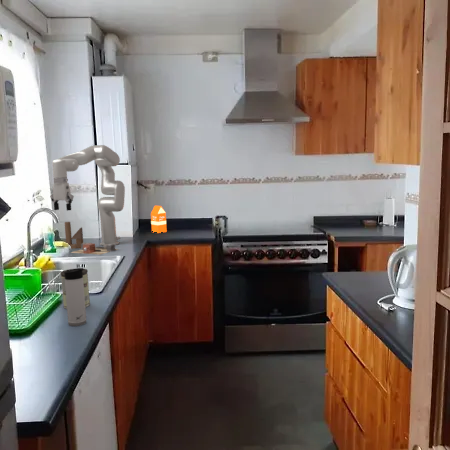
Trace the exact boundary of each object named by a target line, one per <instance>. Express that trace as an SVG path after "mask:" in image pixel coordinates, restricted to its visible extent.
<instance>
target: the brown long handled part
mask: <svg viewBox="0 0 450 450" xmlns="http://www.w3.org/2000/svg"><path fill="white" fill-rule="evenodd" d="M71 225H72V224H71V221H65V222H64V234H65V244H66V243H68V244H69V245H70V246H71V249H70V250H73V249H81V244H82V243H84V235H83V234H84V231H83V227H82V226H81V227H80V228H79V229H78V230H77V231H76V232H75V233H74V235H73V236H72V226H71ZM73 240H75V243H73Z"/></svg>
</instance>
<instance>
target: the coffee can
mask: <svg viewBox="0 0 450 450" xmlns="http://www.w3.org/2000/svg"><path fill="white" fill-rule="evenodd" d="M71 269H72V268H70V269H69V268H68V269H65V270H62V271H61V272H60V273H59V274H60V280H61V289H62V301H63V308H64V309H66V310H67V302H66V290H65V276H64V272H66V271H67V270H71ZM82 272H83V274H82V275H83V283H84V296H85V308H87V307H89V306H90V305H91V302H90V301H91V300H90V289H89V277H88V276H89V275H88V269H86V268H83V271H82Z"/></svg>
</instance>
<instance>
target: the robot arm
mask: <svg viewBox="0 0 450 450" xmlns="http://www.w3.org/2000/svg"><path fill="white" fill-rule="evenodd" d="M120 158H121V157H120V156H119V154H117V152H115V151H114V150H113V149H112V148H110V147H109V146H107V145H105V144H99V145H98V144H97V145H91V146H89V147H86V148H84V149H82V150H80V151H77V152H73V153H70V154H67V155H64V156H62V157H60V158H58V159H54V160H52V162H51V163H52V172H53V173H52V174H53V175H52V176H53V184H52V185H53V187H52V194H51V195H50V200H51V202H52V203H53V210H54V211H59V209H60V206H59V205H60V204H59V201H65V202H66V204H65V206H66V211H67V212H68V211H72V202H73V201H74V197H75V196H74V195H73V194H72V192H71V187H70V184H69V182H68V181H69V179H68V172H75V171H77V170H78V169H79V166H85V165H87V164H89V163H91V162H93V161H95V162H94V163H95V164H96V166H97V167H98V169H99V170H100V172H101V181H100V182H101V185H100V190H101V191H100V192H101V193H102V194H103V195H104V196H103V197H101V198H99V199H98V200H97V208H98V212H99V219H100V229H101V230H100V233H101V234H100V236H101V242H99V246H100V247H103V246H104V244H115V246H117V245H119V244H120V242H119V241H118V240H121V237H120V236H117V230H116V229H117V227H116V225H117V224H116V216H115V214H114V213H115V212H116V213H117V212H121V211H123V209H124V207H125V195H126V193H125V192H126V187H125V184H124V183H123V181H122V180H115V179H116V178H115V177H116V176H115V175H116V173H115V171H114V169H113V167H116V166H118V165H119V164H120V161H121V159H120ZM105 195H106V196H105Z"/></svg>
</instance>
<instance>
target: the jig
mask: <svg viewBox="0 0 450 450" xmlns="http://www.w3.org/2000/svg"><path fill="white" fill-rule="evenodd" d="M87 243H88V242H83V243H82V244H81V248H80V249H79V250H75V251H72V252H70V253H73V254H86V255H100V256H101V255H104V254H108V253H111V252H114V251H119V248H116V245H115V244H104V246H95V251H96V252H93V253H84V252H83V245H84V244H87Z"/></svg>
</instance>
